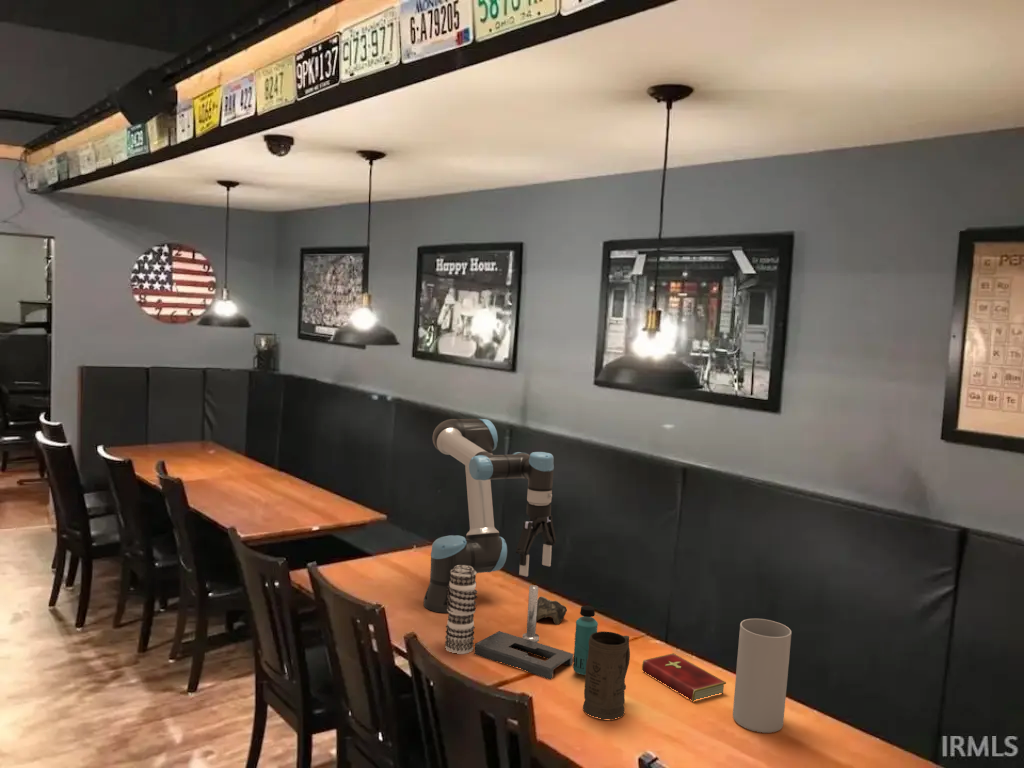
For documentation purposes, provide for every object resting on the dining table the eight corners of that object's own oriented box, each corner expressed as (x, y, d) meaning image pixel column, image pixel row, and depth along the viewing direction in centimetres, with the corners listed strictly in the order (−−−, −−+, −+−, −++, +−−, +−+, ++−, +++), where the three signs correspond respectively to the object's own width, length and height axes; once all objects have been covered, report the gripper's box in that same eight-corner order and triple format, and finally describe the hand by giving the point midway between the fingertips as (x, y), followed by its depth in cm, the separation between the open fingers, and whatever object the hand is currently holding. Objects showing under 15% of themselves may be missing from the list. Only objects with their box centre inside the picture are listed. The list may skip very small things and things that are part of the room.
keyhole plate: (474, 654, 242) (474, 643, 242) (498, 640, 253) (499, 630, 253) (550, 679, 228) (550, 668, 228) (572, 664, 239) (573, 653, 239)
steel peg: (519, 639, 255) (522, 586, 253) (527, 634, 259) (531, 582, 258) (533, 644, 252) (536, 590, 251) (542, 639, 256) (545, 586, 255)
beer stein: (612, 726, 204) (620, 647, 203) (574, 713, 209) (581, 636, 209) (636, 707, 217) (644, 633, 216) (600, 695, 222) (607, 622, 222)
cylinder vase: (754, 737, 202) (762, 639, 200) (722, 714, 214) (730, 621, 212) (793, 730, 207) (802, 634, 205) (760, 707, 219) (768, 616, 217)
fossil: (566, 613, 279) (568, 592, 274) (564, 634, 271) (566, 613, 266) (534, 609, 280) (536, 588, 275) (532, 630, 272) (533, 609, 267)
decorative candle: (437, 647, 246) (441, 566, 243) (459, 639, 252) (464, 560, 250) (458, 657, 239) (462, 574, 237) (480, 649, 246) (485, 568, 244)
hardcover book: (692, 704, 219) (694, 689, 219) (641, 673, 237) (642, 659, 237) (724, 696, 225) (726, 681, 225) (672, 665, 243) (673, 652, 243)
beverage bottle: (597, 673, 234) (602, 605, 233) (591, 682, 228) (596, 612, 226) (575, 668, 236) (579, 601, 235) (569, 677, 230) (573, 608, 228)
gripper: (528, 511, 240) (524, 582, 241) (569, 498, 260) (565, 563, 262) (506, 507, 244) (503, 577, 245) (549, 494, 265) (545, 559, 266)
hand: (535, 570), depth 254 cm, fingers open, 13 cm apart
